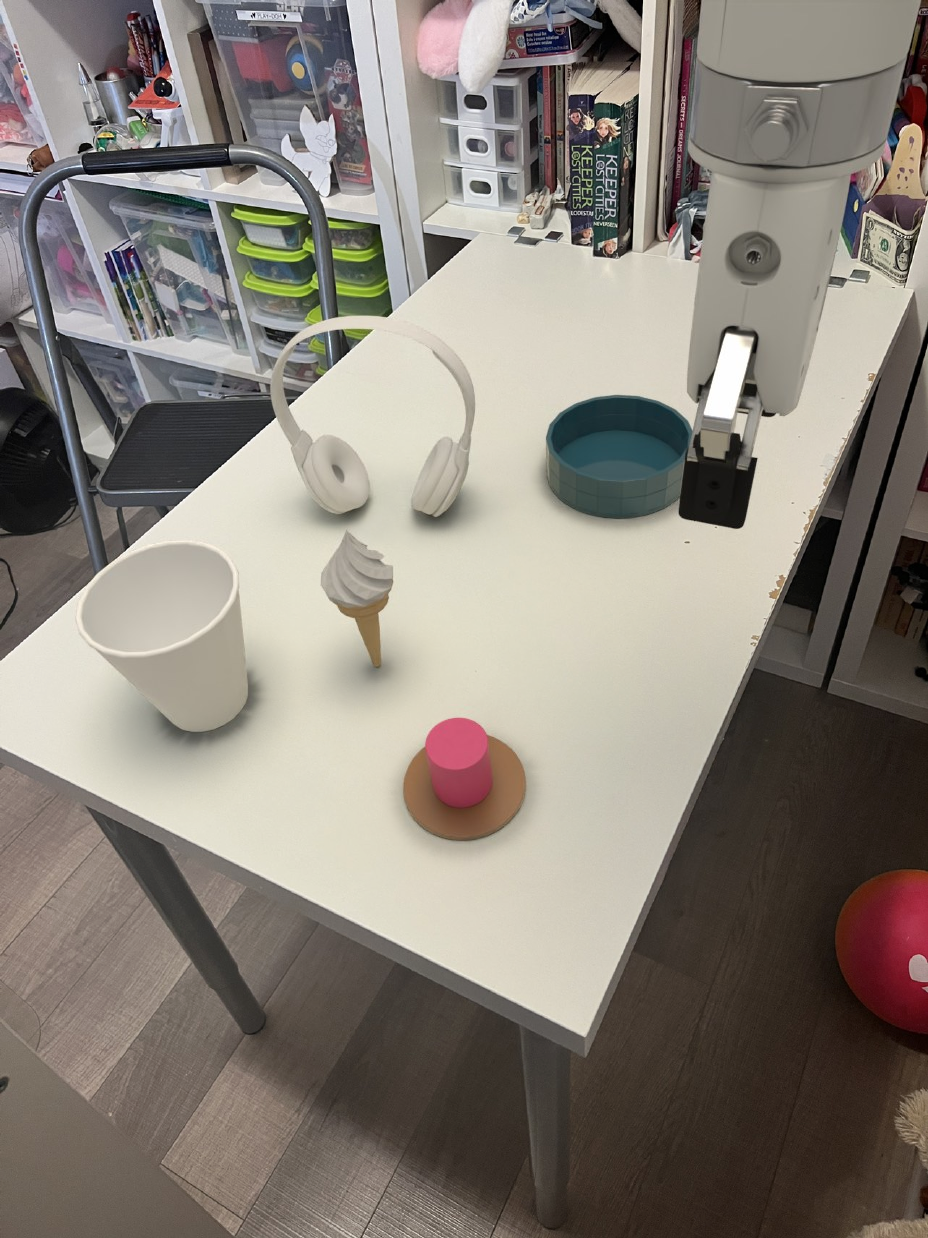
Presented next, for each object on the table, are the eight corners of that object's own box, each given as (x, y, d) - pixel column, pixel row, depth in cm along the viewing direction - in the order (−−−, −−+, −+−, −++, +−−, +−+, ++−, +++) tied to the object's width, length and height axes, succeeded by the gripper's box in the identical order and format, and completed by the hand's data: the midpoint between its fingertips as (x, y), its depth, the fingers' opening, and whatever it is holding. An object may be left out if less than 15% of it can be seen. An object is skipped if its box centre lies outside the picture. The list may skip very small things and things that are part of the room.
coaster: (495, 719, 69) (495, 715, 69) (546, 811, 63) (546, 807, 63) (387, 762, 67) (386, 758, 67) (430, 860, 61) (429, 856, 61)
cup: (194, 629, 79) (146, 524, 70) (306, 667, 74) (270, 560, 65) (105, 731, 72) (38, 628, 63) (223, 778, 67) (170, 676, 58)
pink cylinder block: (478, 748, 67) (473, 708, 63) (502, 794, 64) (498, 755, 60) (424, 770, 66) (416, 730, 62) (446, 817, 63) (438, 779, 59)
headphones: (313, 481, 92) (265, 300, 77) (488, 485, 89) (473, 298, 74) (294, 527, 87) (240, 343, 72) (478, 533, 84) (460, 343, 70)
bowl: (642, 417, 95) (645, 380, 91) (716, 490, 86) (723, 452, 82) (524, 456, 92) (522, 419, 89) (588, 535, 83) (589, 498, 79)
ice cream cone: (331, 673, 74) (291, 539, 63) (373, 630, 77) (341, 495, 66) (383, 701, 71) (351, 566, 60) (424, 656, 74) (400, 519, 63)
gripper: (871, 206, 28) (776, 588, 40) (910, 41, 38) (825, 384, 51) (637, 189, 30) (616, 555, 43) (734, 38, 41) (694, 367, 53)
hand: (730, 462), depth 47 cm, fingers open, 9 cm apart
